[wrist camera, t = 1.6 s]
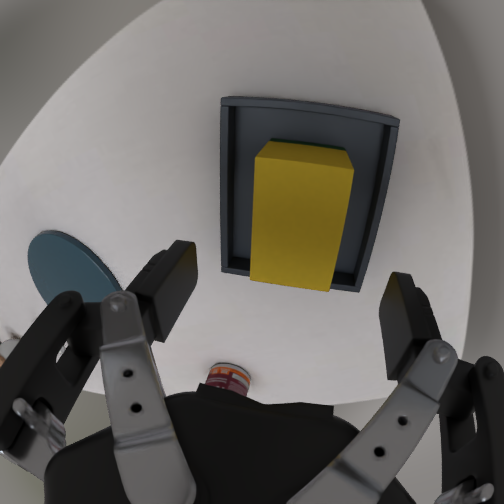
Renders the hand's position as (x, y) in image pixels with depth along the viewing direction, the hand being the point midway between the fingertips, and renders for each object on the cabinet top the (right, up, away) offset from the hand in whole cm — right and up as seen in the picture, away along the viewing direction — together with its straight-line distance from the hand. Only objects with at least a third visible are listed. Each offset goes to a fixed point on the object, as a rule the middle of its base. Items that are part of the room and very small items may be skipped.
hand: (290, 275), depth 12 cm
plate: (-22, -4, +18) cm, 29 cm away
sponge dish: (+2, +5, +7) cm, 9 cm away
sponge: (+2, +5, +7) cm, 9 cm away
